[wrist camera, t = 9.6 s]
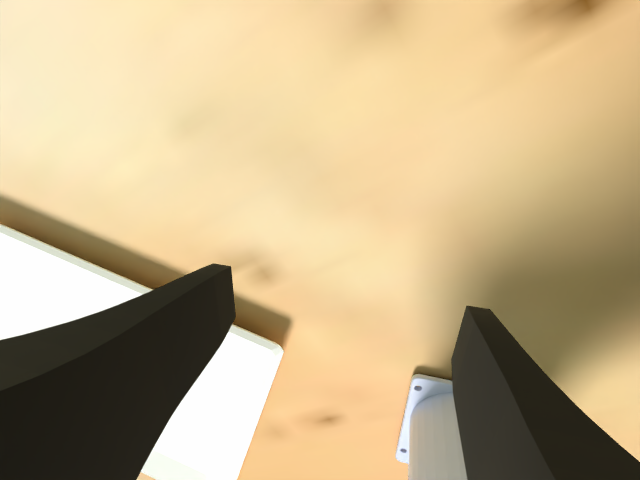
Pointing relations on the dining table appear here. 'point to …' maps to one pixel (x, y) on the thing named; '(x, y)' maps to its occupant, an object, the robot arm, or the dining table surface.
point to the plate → (201, 400)
